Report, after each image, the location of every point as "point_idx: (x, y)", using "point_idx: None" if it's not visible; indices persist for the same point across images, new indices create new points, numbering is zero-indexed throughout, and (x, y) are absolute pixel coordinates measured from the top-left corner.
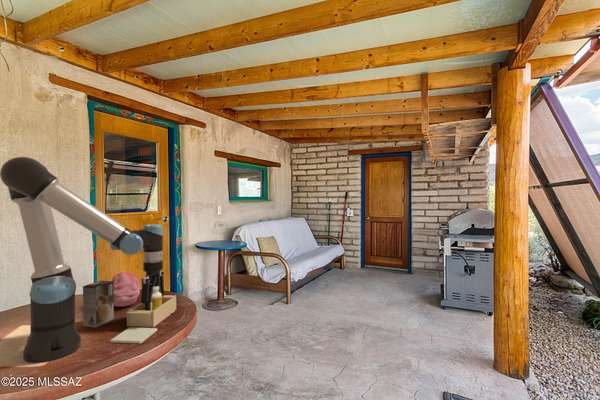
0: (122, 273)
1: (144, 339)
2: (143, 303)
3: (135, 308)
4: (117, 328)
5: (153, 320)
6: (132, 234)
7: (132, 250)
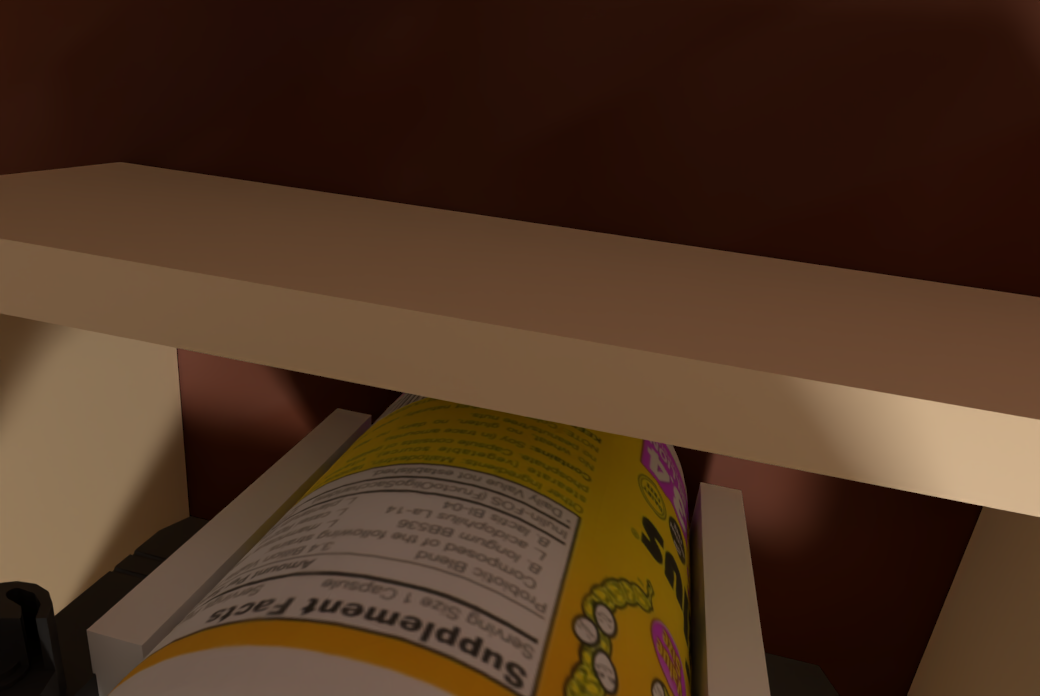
0: None
1: None
2: (504, 401)
3: (78, 317)
4: (10, 30)
5: None
6: None
7: None
